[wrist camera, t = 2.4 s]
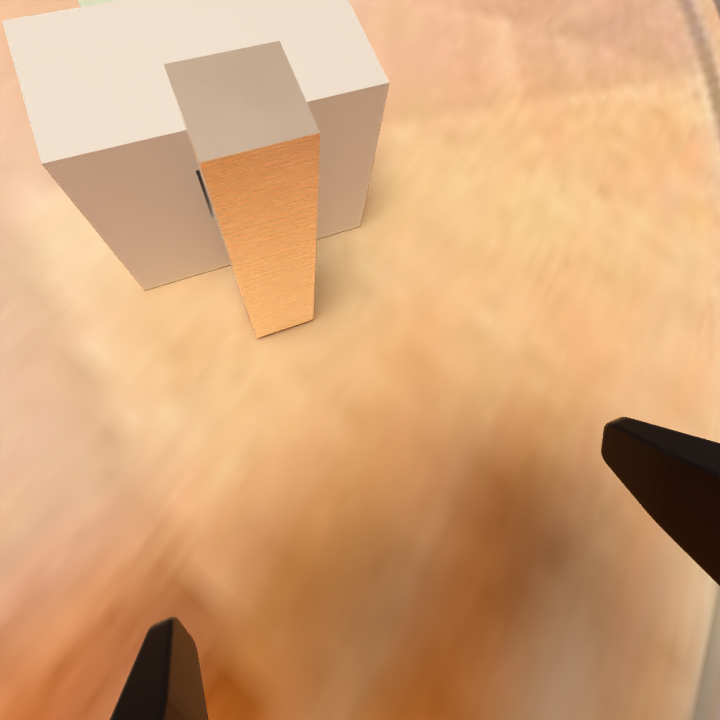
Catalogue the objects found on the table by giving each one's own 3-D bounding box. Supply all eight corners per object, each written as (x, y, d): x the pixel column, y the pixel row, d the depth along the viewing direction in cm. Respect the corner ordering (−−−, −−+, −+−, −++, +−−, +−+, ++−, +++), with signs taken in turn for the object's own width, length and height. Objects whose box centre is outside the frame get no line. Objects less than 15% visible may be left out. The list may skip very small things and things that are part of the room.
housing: (360, 226, 26) (389, 82, 17) (144, 290, 24) (41, 163, 14) (322, 140, 27) (330, -36, 18) (114, 193, 25) (2, 20, 16)
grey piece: (313, 319, 24) (320, 132, 11) (256, 338, 23) (199, 162, 11) (223, 92, 27) (152, -247, 15) (171, 103, 26) (52, -240, 14)
